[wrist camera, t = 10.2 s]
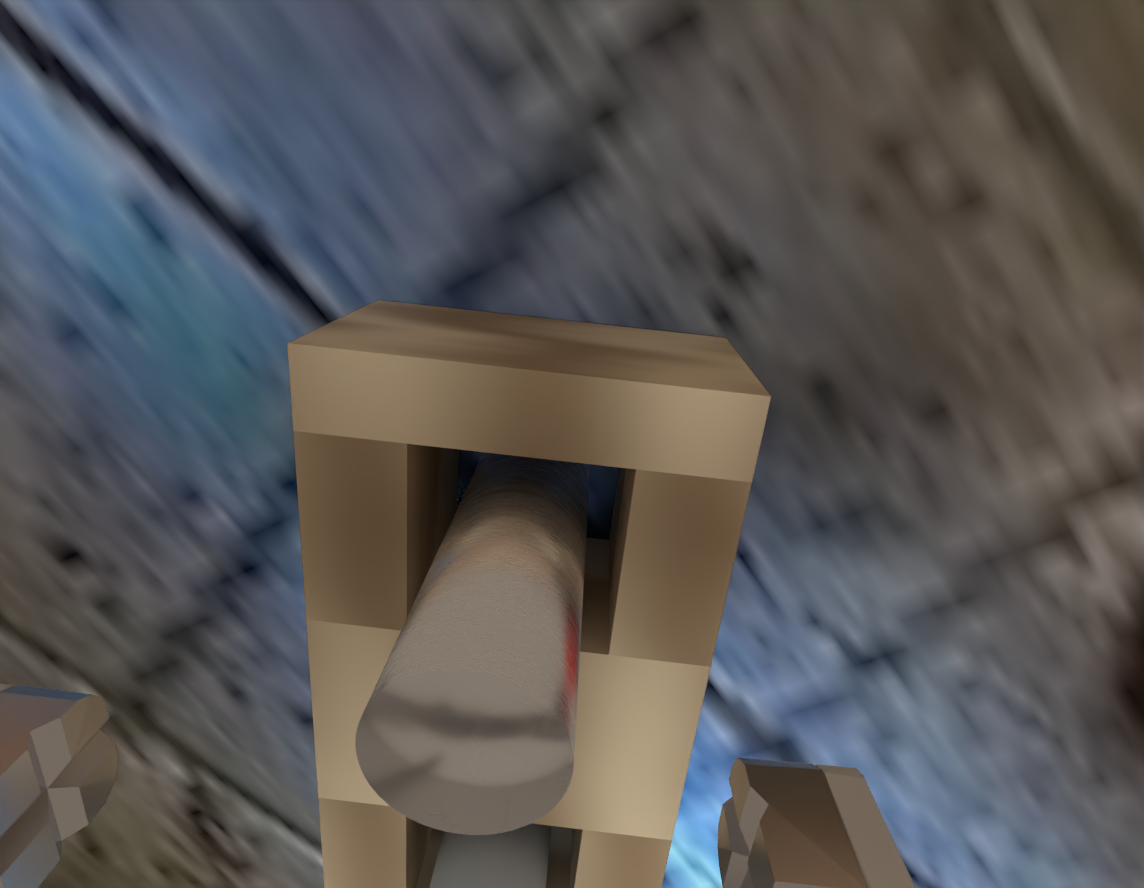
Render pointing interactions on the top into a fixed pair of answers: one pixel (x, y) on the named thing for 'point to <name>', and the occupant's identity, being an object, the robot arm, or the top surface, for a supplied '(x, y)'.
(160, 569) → the top surface
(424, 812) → the steel peg
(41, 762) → the robot arm
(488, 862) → the gray peg
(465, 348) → the hole block
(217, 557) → the top surface
